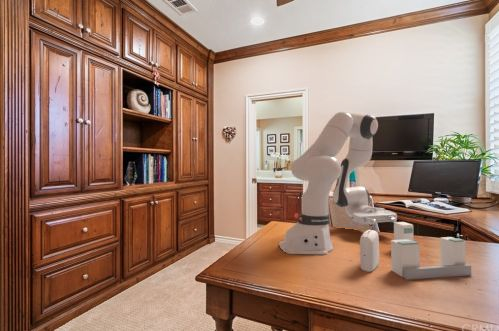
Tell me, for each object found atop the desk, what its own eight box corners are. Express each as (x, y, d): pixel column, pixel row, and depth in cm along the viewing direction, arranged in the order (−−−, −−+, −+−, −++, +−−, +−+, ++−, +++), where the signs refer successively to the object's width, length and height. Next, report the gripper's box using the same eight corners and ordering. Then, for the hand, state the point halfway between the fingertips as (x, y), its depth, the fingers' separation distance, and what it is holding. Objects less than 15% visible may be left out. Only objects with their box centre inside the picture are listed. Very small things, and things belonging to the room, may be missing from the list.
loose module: (403, 253, 96) (402, 225, 96) (394, 249, 101) (393, 222, 101) (413, 252, 97) (413, 224, 97) (404, 248, 102) (403, 221, 102)
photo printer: (372, 273, 80) (372, 235, 80) (358, 269, 82) (358, 232, 82) (380, 263, 87) (380, 228, 87) (367, 260, 90) (367, 226, 90)
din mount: (406, 279, 75) (405, 245, 75) (391, 270, 82) (390, 239, 81) (471, 275, 77) (470, 241, 77) (451, 266, 84) (451, 235, 84)
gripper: (347, 209, 124) (362, 215, 110) (385, 207, 126) (405, 212, 112) (347, 222, 124) (363, 229, 110) (385, 219, 126) (405, 226, 112)
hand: (384, 221), depth 111 cm, fingers open, 8 cm apart
